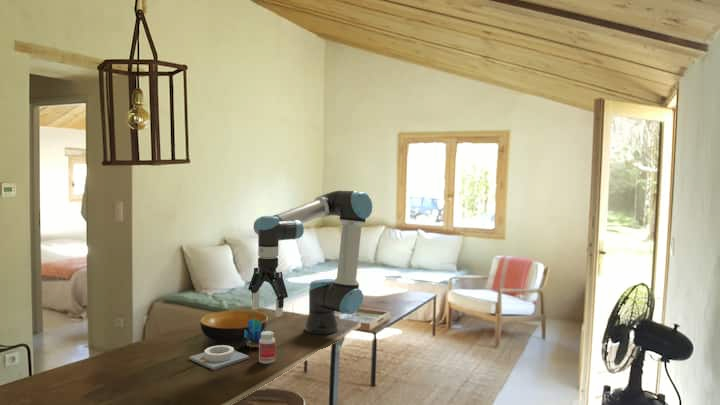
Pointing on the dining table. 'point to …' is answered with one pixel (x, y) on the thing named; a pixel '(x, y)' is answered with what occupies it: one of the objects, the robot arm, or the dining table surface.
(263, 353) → the pill bottle
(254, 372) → the dining table surface
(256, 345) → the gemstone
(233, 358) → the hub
